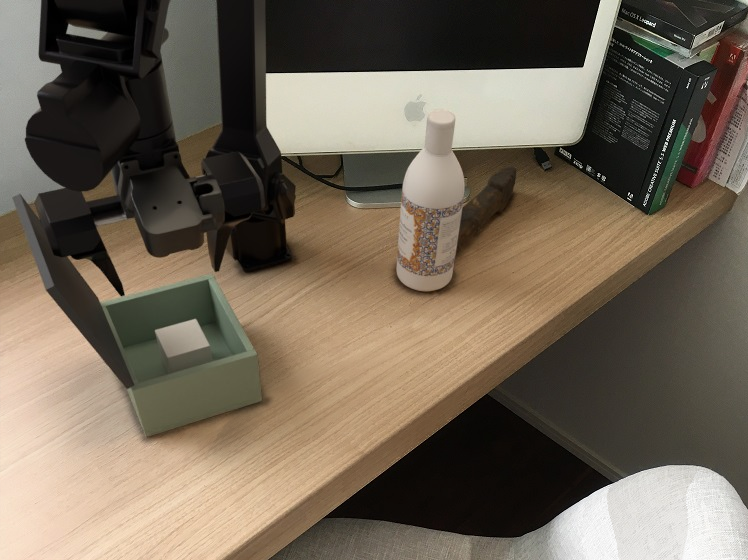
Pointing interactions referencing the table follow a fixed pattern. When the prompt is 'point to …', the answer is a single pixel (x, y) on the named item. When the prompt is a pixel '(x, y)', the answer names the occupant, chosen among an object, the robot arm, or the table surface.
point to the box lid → (72, 293)
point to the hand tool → (486, 203)
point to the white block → (183, 346)
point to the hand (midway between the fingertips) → (169, 281)
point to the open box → (190, 386)
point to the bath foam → (431, 209)
